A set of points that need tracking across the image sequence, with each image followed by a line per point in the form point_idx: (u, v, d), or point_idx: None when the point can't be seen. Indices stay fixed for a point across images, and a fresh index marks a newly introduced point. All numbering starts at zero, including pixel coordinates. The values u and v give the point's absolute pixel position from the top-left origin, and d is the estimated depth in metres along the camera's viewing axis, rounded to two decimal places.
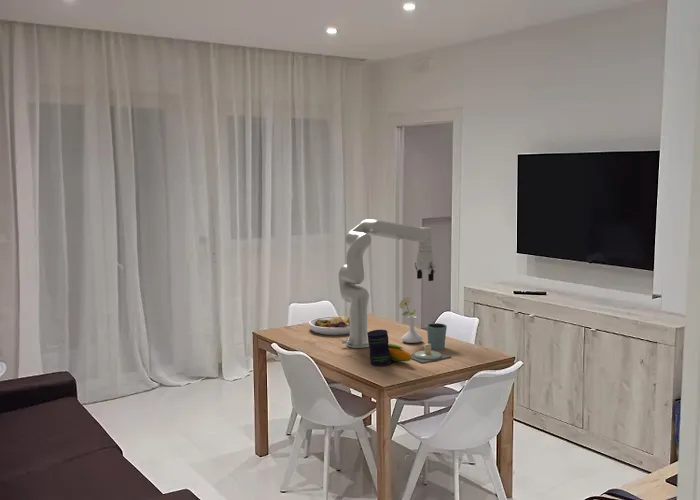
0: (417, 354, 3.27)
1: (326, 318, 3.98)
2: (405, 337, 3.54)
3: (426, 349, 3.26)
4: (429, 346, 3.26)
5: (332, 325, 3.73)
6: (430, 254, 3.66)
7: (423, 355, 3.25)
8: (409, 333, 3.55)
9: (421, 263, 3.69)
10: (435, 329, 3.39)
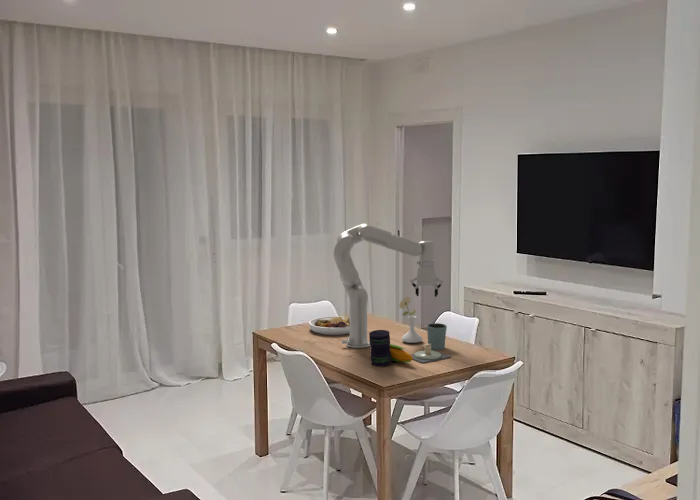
0: (417, 354, 3.27)
1: (326, 318, 3.98)
2: (405, 337, 3.54)
3: (426, 349, 3.26)
4: (429, 346, 3.26)
5: (332, 325, 3.73)
6: (435, 269, 3.49)
7: (423, 355, 3.25)
8: (409, 333, 3.55)
9: (426, 279, 3.48)
10: (435, 329, 3.39)
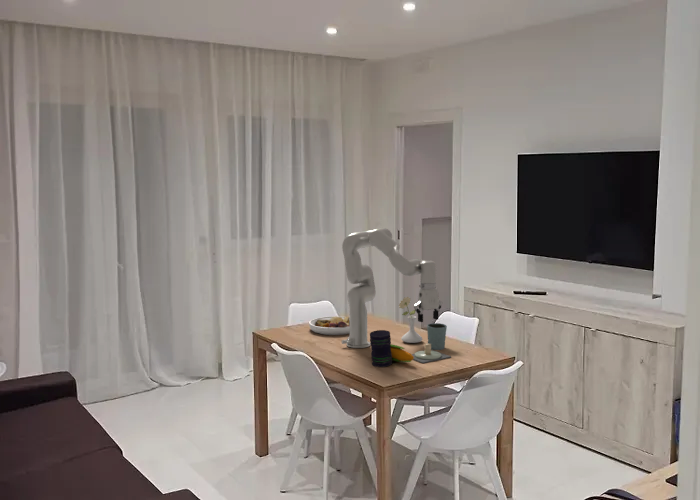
0: (417, 354, 3.27)
1: (326, 318, 3.98)
2: (405, 337, 3.54)
3: (426, 349, 3.26)
4: (429, 346, 3.26)
5: (332, 325, 3.73)
6: None
7: (423, 355, 3.25)
8: (409, 333, 3.55)
9: (431, 302, 3.23)
10: (435, 329, 3.39)
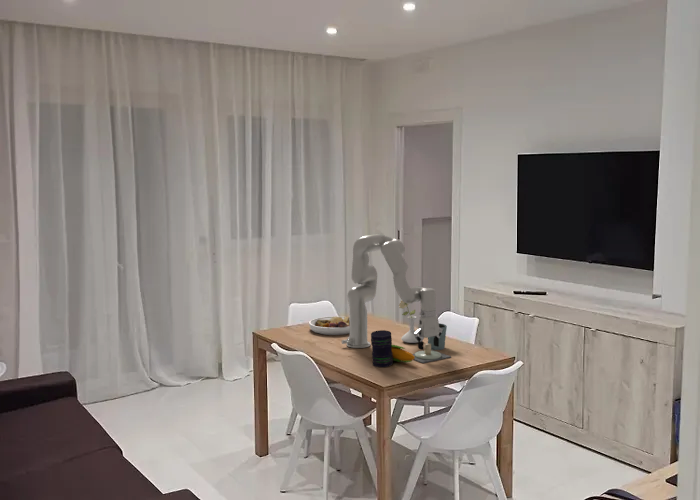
0: (417, 354, 3.27)
1: (326, 318, 3.98)
2: (405, 337, 3.54)
3: (426, 349, 3.26)
4: (429, 346, 3.26)
5: (332, 325, 3.73)
6: None
7: (423, 355, 3.25)
8: (409, 333, 3.55)
9: (432, 329, 3.24)
10: None
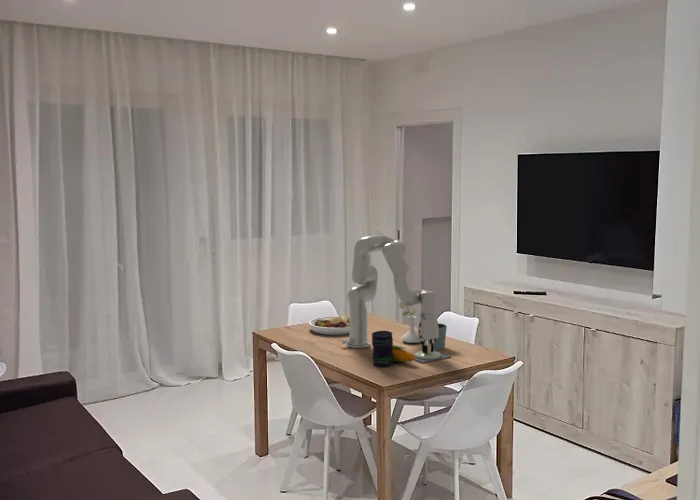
0: (417, 354, 3.27)
1: (326, 318, 3.98)
2: (405, 337, 3.54)
3: None
4: (429, 346, 3.26)
5: (332, 325, 3.73)
6: None
7: (423, 355, 3.25)
8: (409, 333, 3.55)
9: (431, 332, 3.24)
10: None
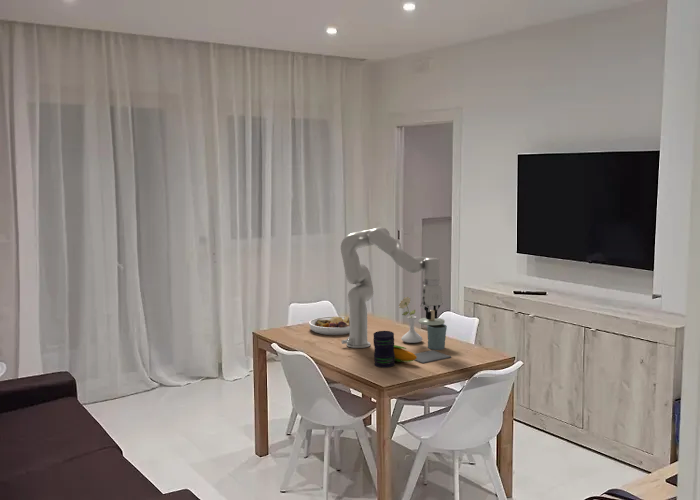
0: (421, 320, 3.32)
1: (326, 318, 3.98)
2: (405, 337, 3.54)
3: None
4: (432, 312, 3.30)
5: (332, 325, 3.73)
6: None
7: (427, 321, 3.30)
8: (409, 333, 3.55)
9: (435, 298, 3.29)
10: (435, 329, 3.39)
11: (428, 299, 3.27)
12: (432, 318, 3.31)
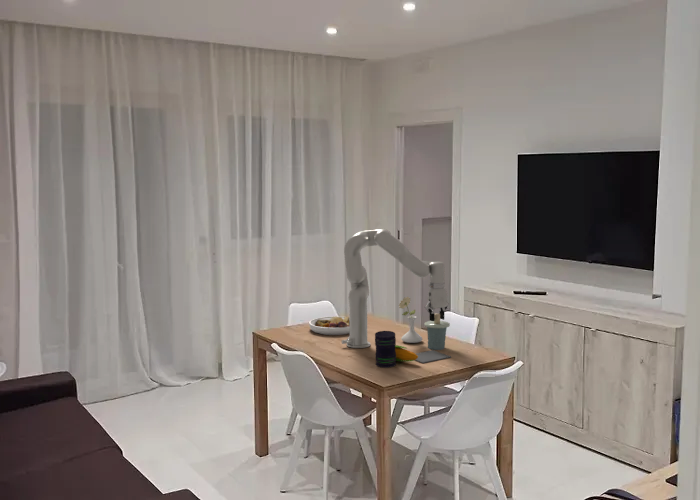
0: (427, 323, 3.43)
1: (326, 318, 3.98)
2: (405, 337, 3.54)
3: (435, 318, 3.42)
4: (438, 315, 3.42)
5: (332, 325, 3.73)
6: None
7: (433, 324, 3.41)
8: (409, 333, 3.55)
9: (440, 301, 3.40)
10: (435, 329, 3.39)
11: (434, 302, 3.38)
12: (438, 321, 3.42)
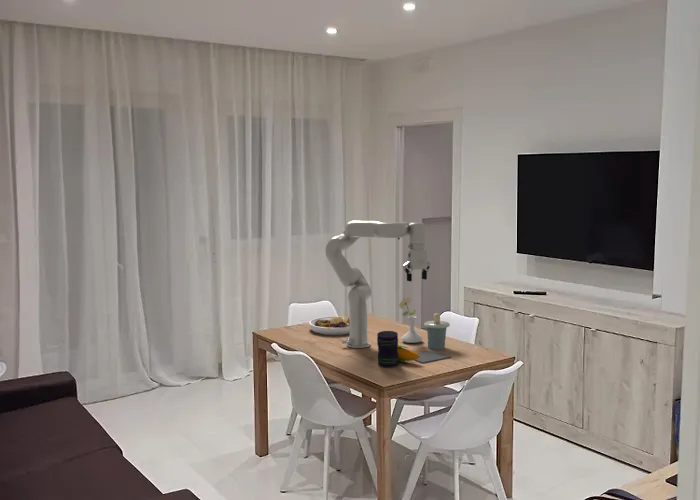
0: (427, 323, 3.43)
1: (326, 318, 3.98)
2: (405, 337, 3.54)
3: (435, 318, 3.42)
4: (438, 315, 3.42)
5: (332, 325, 3.73)
6: None
7: (433, 324, 3.41)
8: (409, 333, 3.55)
9: (420, 262, 3.34)
10: (435, 329, 3.39)
11: (413, 263, 3.32)
12: (438, 321, 3.42)
